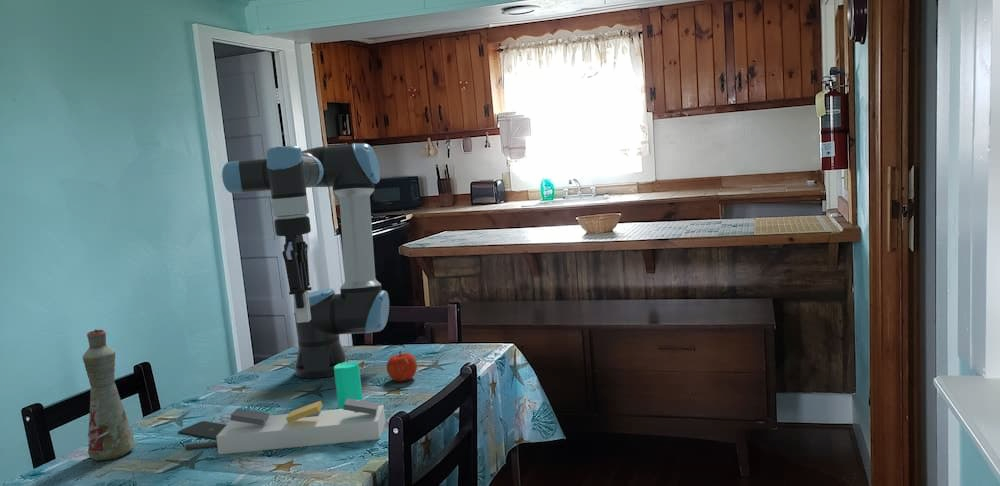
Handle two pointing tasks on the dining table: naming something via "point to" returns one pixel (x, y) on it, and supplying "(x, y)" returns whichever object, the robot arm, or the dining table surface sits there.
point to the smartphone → (203, 430)
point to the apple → (401, 367)
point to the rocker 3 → (361, 406)
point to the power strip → (298, 431)
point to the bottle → (105, 403)
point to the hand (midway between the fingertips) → (304, 321)
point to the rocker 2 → (304, 411)
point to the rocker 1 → (249, 416)
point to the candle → (347, 382)
